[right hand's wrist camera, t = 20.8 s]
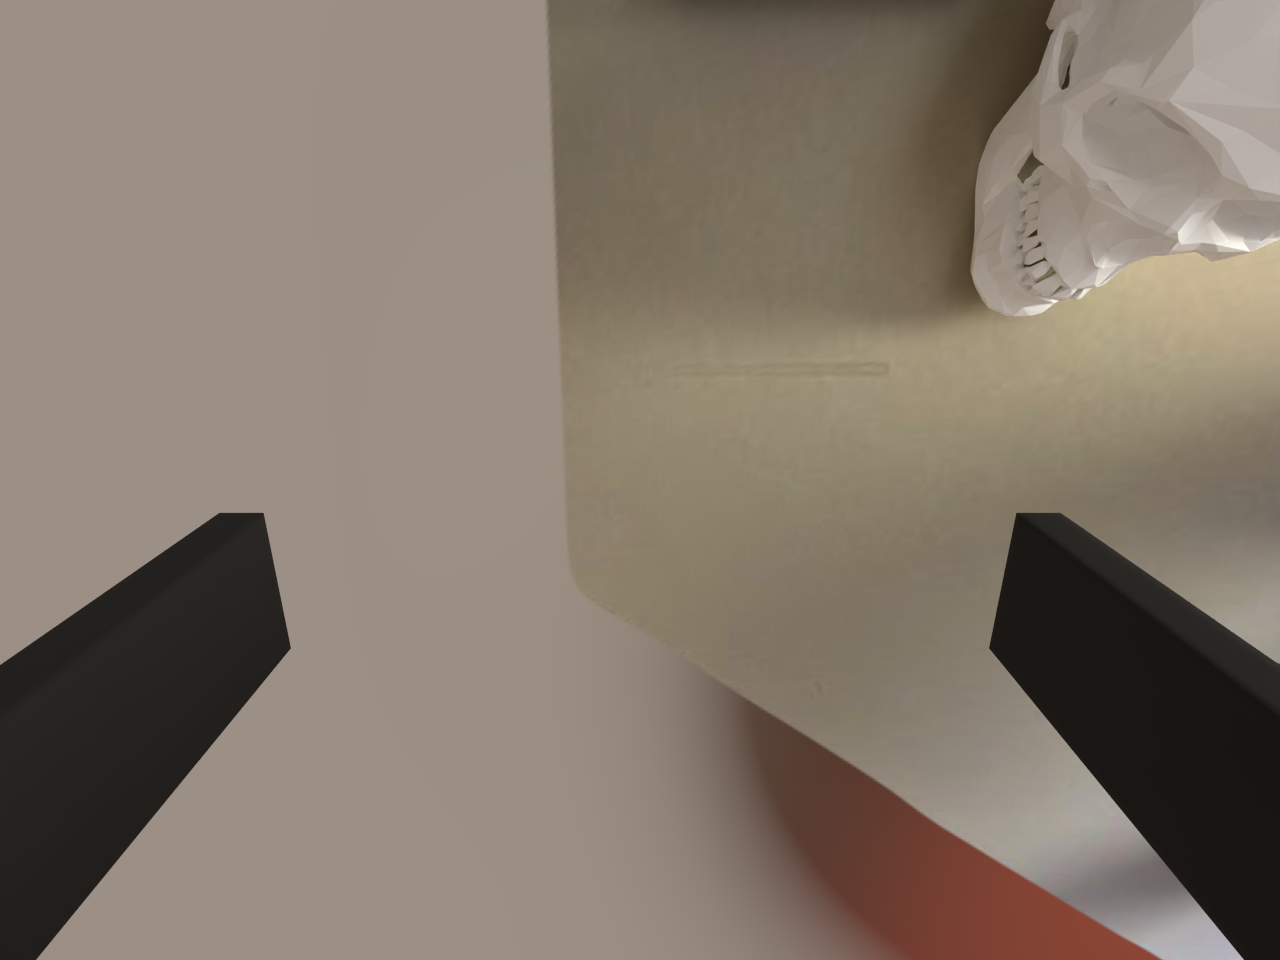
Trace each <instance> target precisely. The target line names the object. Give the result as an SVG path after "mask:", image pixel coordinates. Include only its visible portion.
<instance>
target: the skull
mask: <svg viewBox="0 0 1280 960" xmlns="http://www.w3.org/2000/svg"><path fill="white" fill-rule="evenodd" d="M1046 25H1047V27H1048V28H1049V30H1054V31H1053V33H1052V34H1051V36H1050V39H1049V42H1048V45H1047V48H1046V51H1045V54H1044V57H1043V59H1042V62H1041V65H1040V68H1039V71H1038V74H1037V75H1036V76H1035V77H1034V79H1033V80H1032V81H1031V82H1030V84H1029V85H1028V86H1027V88H1026V89H1025V90H1024V91H1023V93H1022V94H1021V95H1020V96H1019V98H1018V99H1017V100H1016V102H1015V103H1014V104H1013V105H1012V107H1011V108H1010V109H1009V111H1008V112H1007V113H1006V114H1005V116H1004V117H1003V118H1002V119H1001V121H1000V122H999V123H998V125H997V126H996V127H995V128H994V130H993V131H992V133H991V135H990V137H989V139H988V141H987V144H986V147H985V149H984V152H983V155H982V157H981V160H980V163H979V167H978V174H977V181H976V188H975V235H974V244H973V252H972V261H971V270H970V271H971V275H972V278H973V282H974V285H975V288H976V289H977V291H978V293H979V295H980V297H981V299H982V300H983V302H984V303H985V304H986V306H987V307H988V308H990V309H992V310H994V311H996V312H998V313H1000V314H1002V315H1004V316H1005V317H1007V316H1032V315H1036V314H1040V313H1042V312H1044V311H1045V310H1046V309H1048V308H1049V307H1050V306H1052V305H1053V304H1054V303H1055V302H1057V301H1062V300H1066V299H1069V298H1071V299H1080V298H1082V297H1083V296H1084V295H1085V294H1086V293H1087V292H1088V291H1089V290H1090V289H1092V288H1097V287H1099V286H1101V285H1103V284H1106V283H1107V282H1108V281H1109V280H1110V279H1111V278H1113V277H1114V276H1115V275H1116V274H1117V273H1118V272H1120V271H1121V270H1122V269H1123V268H1124V267H1125V266H1126V265H1128V264H1130V263H1133V262H1136V261H1139V260H1142V259H1145V258H1147V257H1150V256H1165V255H1173V254H1181V253H1188V252H1197V253H1199V254H1201V255H1202V256H1204V257H1206V258H1207V259H1209V260H1210V261H1216V260H1221V259H1227V258H1230V257H1234V256H1238V255H1241V254H1245V253H1248V252H1252V251H1254V250H1256V249H1258V248H1261V247H1263V246H1265V245H1268V244H1270V243H1272V242H1275V241H1277V240H1279V239H1280V0H1055V1H1054V3H1053V6H1052V9H1051V11H1050V14H1049V16H1048V19H1047V22H1046ZM1070 64H1071V66H1070V71H1069V75H1070V82H1069V86H1068V87H1067V88H1066V89H1064V90H1062V89H1061V88H1062V86H1063V83H1064V81H1065V77H1066V73H1067V68H1068V66H1069V65H1070ZM1032 151H1033V154H1034V157H1035V158H1037V159H1038V160H1039V161H1040V162H1042V163H1043V164H1044V165H1042V166H1038V167H1037V168H1036V169H1035V170H1034V172H1033V173H1032V176H1030V177H1029V178H1027V179H1026V180H1025V181H1024V183H1022V182H1021V180H1020V179H1019V178H1018V176H1017V175H1018V174H1019V172H1020V170H1021V169H1022V167H1023V166H1024V164H1025V162H1026V161H1027V159H1028V158H1029V156H1030V155H1031V153H1032ZM1037 184H1039V185H1038V186H1037ZM1025 210H1027V211H1026V212H1025ZM1024 212H1025V215H1024ZM1035 230H1037V233H1038V235H1036V236H1033V237H1029V236H1030V234H1032V233H1033V232H1034V231H1035ZM1040 242H1041V246H1040V247H1037V248H1034V247H1036V246H1037V245H1038V244H1039V243H1040ZM1021 245H1023V247H1022V249H1021ZM1033 248H1034V249H1033ZM1044 257H1045V258H1046V260H1047V261H1042V262H1040V263H1038V264H1036V265H1034V266H1032V267H1024V266H1023V262H1024V261H1025V262H1024V264H1027V265H1030V264H1033V263H1035V262H1037V261H1039V260H1041V259H1044ZM1051 266H1052V267H1053V268H1054V270H1055V271H1054V272H1052V273H1051V274H1049V275H1048V276H1046V277H1044V278H1042V279H1041V280H1039V281H1038V279H1039V278H1040V277H1041V276H1043V275H1044V274H1045V273H1047V271H1048V270H1049V268H1050V267H1051ZM1028 275H1029V276H1028Z"/></svg>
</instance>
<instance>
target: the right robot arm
mask: <svg viewBox="0 0 1280 960" xmlns="http://www.w3.org/2000/svg"><path fill="white" fill-rule="evenodd" d="M290 649H291V647H290V642H289V637H288V632H287V627H286V622H285V617H284V612H283V607H282V602H281V597H280V593H279V587H278V583H277V577H276V573H275V568H274V563H273V558H272V553H271V548H270V543H269V538H268V533H267V528H266V523H265V518H264V513H219V514H217V515H216V516H214V517H213V518H212V519H210V520H209V521H207V522H206V523H204V524H203V525H202V526H200V527H199V528H197V529H196V530H194V531H193V532H191V533H190V534H189V535H187V536H186V537H184V538H183V539H181V540H180V541H178V542H177V543H176V544H174V545H173V546H171V547H170V548H168V549H167V550H165V551H164V552H163V553H161V554H160V555H158V556H157V557H155V558H154V559H152V560H151V561H150V562H148V563H147V564H145V565H144V566H142V567H141V568H140V569H138V570H137V571H135V572H134V573H132V574H131V575H129V576H128V577H127V578H125V579H124V580H122V581H121V582H119V583H118V584H116V585H115V586H114V587H112V588H111V589H109V590H108V591H106V592H105V593H103V594H102V595H101V596H99V597H98V598H96V599H95V600H93V601H92V602H90V603H89V604H88V605H86V606H85V607H83V608H82V609H80V610H79V611H78V612H76V613H75V614H73V615H72V616H70V617H69V618H67V619H66V620H65V621H63V622H62V623H60V624H59V625H57V626H56V627H54V628H53V629H52V630H50V631H49V632H47V633H46V634H44V635H43V636H42V637H40V638H39V639H37V640H36V641H34V642H33V643H31V644H30V645H29V646H27V647H26V648H24V649H23V650H21V651H20V652H18V653H17V654H16V655H14V656H13V657H11V658H10V659H8V660H7V661H6V662H4V663H3V664H1V665H0V960H36V959H37V958H38V957H39V955H40V954H41V953H42V952H43V951H44V949H45V948H46V947H47V946H48V944H49V943H50V942H51V941H52V939H53V938H54V937H55V936H56V935H57V933H58V932H59V931H60V930H61V929H62V927H63V926H64V925H65V924H66V922H67V921H68V920H69V919H70V918H71V916H72V915H73V914H74V913H75V911H76V910H77V909H78V908H79V906H80V905H81V904H82V903H83V902H84V900H85V899H86V898H87V897H88V895H89V894H90V893H91V892H92V891H93V889H94V888H95V887H96V886H97V884H98V883H99V882H100V881H101V880H102V878H103V877H104V876H105V875H106V873H107V872H108V871H109V870H110V869H111V867H112V866H113V865H114V864H115V862H116V861H117V860H118V859H119V858H120V856H121V855H122V854H123V853H124V851H125V850H126V849H127V848H128V847H129V845H130V844H131V843H132V842H133V840H134V839H135V838H136V837H137V836H138V834H139V833H140V832H141V831H142V829H143V828H144V827H145V826H146V825H147V823H148V822H149V821H150V820H151V818H152V817H153V816H154V815H155V814H156V812H157V811H158V810H159V809H160V807H161V806H162V805H163V804H164V803H165V801H166V800H167V799H168V798H169V796H170V795H171V794H172V793H173V792H174V790H175V789H176V788H177V787H178V785H179V784H180V783H181V782H182V781H183V779H184V778H185V777H186V776H187V774H188V773H189V772H190V771H191V770H192V768H193V767H194V766H195V765H196V763H197V762H198V761H199V760H200V759H201V757H202V756H203V755H204V754H205V752H206V751H207V750H208V749H209V748H210V746H211V745H212V744H213V743H214V741H215V740H216V739H217V738H218V737H219V735H220V734H221V733H222V732H223V730H224V729H225V728H226V727H227V726H228V724H229V723H230V722H231V721H232V719H233V718H234V717H235V716H236V715H237V713H238V712H239V711H240V710H241V708H242V707H243V706H244V705H245V704H246V702H247V701H248V700H249V699H250V697H251V696H252V695H253V694H254V693H255V691H256V690H257V689H258V688H259V686H260V685H261V684H262V683H263V682H264V680H265V679H266V678H267V677H268V675H269V674H270V673H271V672H272V671H273V669H274V668H275V667H276V666H277V664H278V663H279V662H280V661H281V660H282V658H283V657H284V656H285V655H286V653H287V652H288V651H289V650H290ZM989 649H990V650H991V651H992V652H993V653H994V655H995V656H996V657H997V658H998V660H999V661H1000V662H1001V663H1002V664H1003V666H1004V667H1005V668H1006V669H1007V671H1008V672H1009V673H1010V674H1011V675H1012V677H1013V678H1014V679H1015V680H1016V682H1017V683H1018V684H1019V685H1020V686H1021V688H1022V689H1023V690H1024V691H1025V693H1026V694H1027V695H1028V696H1029V697H1030V699H1031V700H1032V701H1033V702H1034V704H1035V705H1036V706H1037V707H1038V708H1039V710H1040V711H1041V712H1042V713H1043V715H1044V716H1045V717H1046V718H1047V719H1048V721H1049V722H1050V723H1051V724H1052V726H1053V727H1054V728H1055V729H1056V730H1057V732H1058V733H1059V734H1060V735H1061V737H1062V738H1063V739H1064V740H1065V741H1066V743H1067V744H1068V745H1069V746H1070V748H1071V749H1072V750H1073V751H1074V752H1075V754H1076V755H1077V756H1078V757H1079V759H1080V760H1081V761H1082V762H1083V763H1084V765H1085V766H1086V767H1087V768H1088V770H1089V771H1090V772H1091V773H1092V774H1093V776H1094V777H1095V778H1096V779H1097V781H1098V782H1099V783H1100V784H1101V785H1102V787H1103V788H1104V789H1105V790H1106V792H1107V793H1108V794H1109V795H1110V796H1111V798H1112V799H1113V800H1114V801H1115V803H1116V804H1117V805H1118V806H1119V807H1120V809H1121V810H1122V811H1123V812H1124V814H1125V815H1126V816H1127V817H1128V818H1129V820H1130V821H1131V822H1132V823H1133V825H1134V826H1135V827H1136V828H1137V829H1138V831H1139V832H1140V833H1141V834H1142V836H1143V837H1144V838H1145V839H1146V840H1147V842H1148V843H1149V844H1150V845H1151V847H1152V848H1153V849H1154V850H1155V851H1156V853H1157V854H1158V855H1159V856H1160V858H1161V859H1162V860H1163V861H1164V862H1165V864H1166V865H1167V866H1168V867H1169V869H1170V870H1171V871H1172V872H1173V873H1174V875H1175V876H1176V877H1177V878H1178V880H1179V881H1180V882H1181V883H1182V884H1183V886H1184V887H1185V888H1186V889H1187V891H1188V892H1189V893H1190V894H1191V895H1192V897H1193V898H1194V899H1195V900H1196V902H1197V903H1198V904H1199V905H1200V906H1201V908H1202V909H1203V910H1204V911H1205V913H1206V914H1207V915H1208V916H1209V918H1210V919H1211V920H1212V921H1213V922H1214V924H1215V925H1216V926H1217V927H1218V929H1219V930H1220V931H1221V932H1222V933H1223V935H1224V936H1225V937H1226V938H1227V940H1228V941H1229V942H1230V943H1231V944H1232V946H1233V947H1234V948H1235V949H1236V951H1237V952H1238V953H1239V954H1240V955H1241V957H1242V958H1243V959H1244V960H1280V664H1279V663H1276V662H1275V661H1273V660H1272V659H1270V658H1269V657H1267V656H1266V655H1264V654H1263V653H1262V652H1260V651H1259V650H1257V649H1256V648H1254V647H1253V646H1252V645H1250V644H1249V643H1247V642H1246V641H1244V640H1243V639H1241V638H1240V637H1239V636H1237V635H1236V634H1234V633H1233V632H1231V631H1230V630H1228V629H1227V628H1226V627H1224V626H1223V625H1221V624H1220V623H1218V622H1217V621H1215V620H1214V619H1213V618H1211V617H1210V616H1208V615H1207V614H1205V613H1204V612H1202V611H1201V610H1200V609H1198V608H1197V607H1195V606H1194V605H1192V604H1191V603H1190V602H1188V601H1187V600H1185V599H1184V598H1182V597H1181V596H1179V595H1178V594H1177V593H1175V592H1174V591H1172V590H1171V589H1169V588H1168V587H1166V586H1165V585H1164V584H1162V583H1161V582H1159V581H1158V580H1156V579H1155V578H1153V577H1152V576H1151V575H1149V574H1148V573H1146V572H1145V571H1143V570H1142V569H1140V568H1139V567H1138V566H1136V565H1135V564H1133V563H1132V562H1130V561H1129V560H1128V559H1126V558H1125V557H1123V556H1122V555H1120V554H1119V553H1117V552H1116V551H1115V550H1113V549H1112V548H1110V547H1109V546H1107V545H1106V544H1104V543H1103V542H1102V541H1100V540H1099V539H1097V538H1096V537H1094V536H1093V535H1091V534H1090V533H1089V532H1087V531H1086V530H1084V529H1083V528H1081V527H1080V526H1078V525H1077V524H1076V523H1074V522H1073V521H1071V520H1070V519H1068V518H1067V517H1066V516H1064V515H1063V514H1061V513H1016V518H1015V523H1014V528H1013V533H1012V538H1011V543H1010V548H1009V553H1008V558H1007V563H1006V568H1005V573H1004V577H1003V582H1002V587H1001V592H1000V597H999V602H998V607H997V612H996V617H995V622H994V627H993V632H992V637H991V642H990V647H989Z"/></svg>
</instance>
